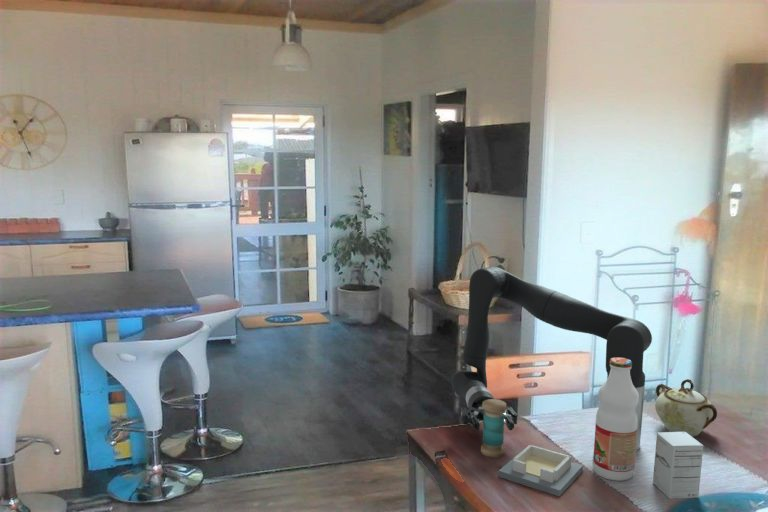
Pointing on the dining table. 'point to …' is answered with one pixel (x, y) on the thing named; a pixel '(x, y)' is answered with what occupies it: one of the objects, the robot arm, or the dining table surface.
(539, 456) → the white grey square tray
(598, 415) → the fruit juice
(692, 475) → the supplement box
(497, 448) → the spool
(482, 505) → the dining table surface
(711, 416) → the sugar bowl
